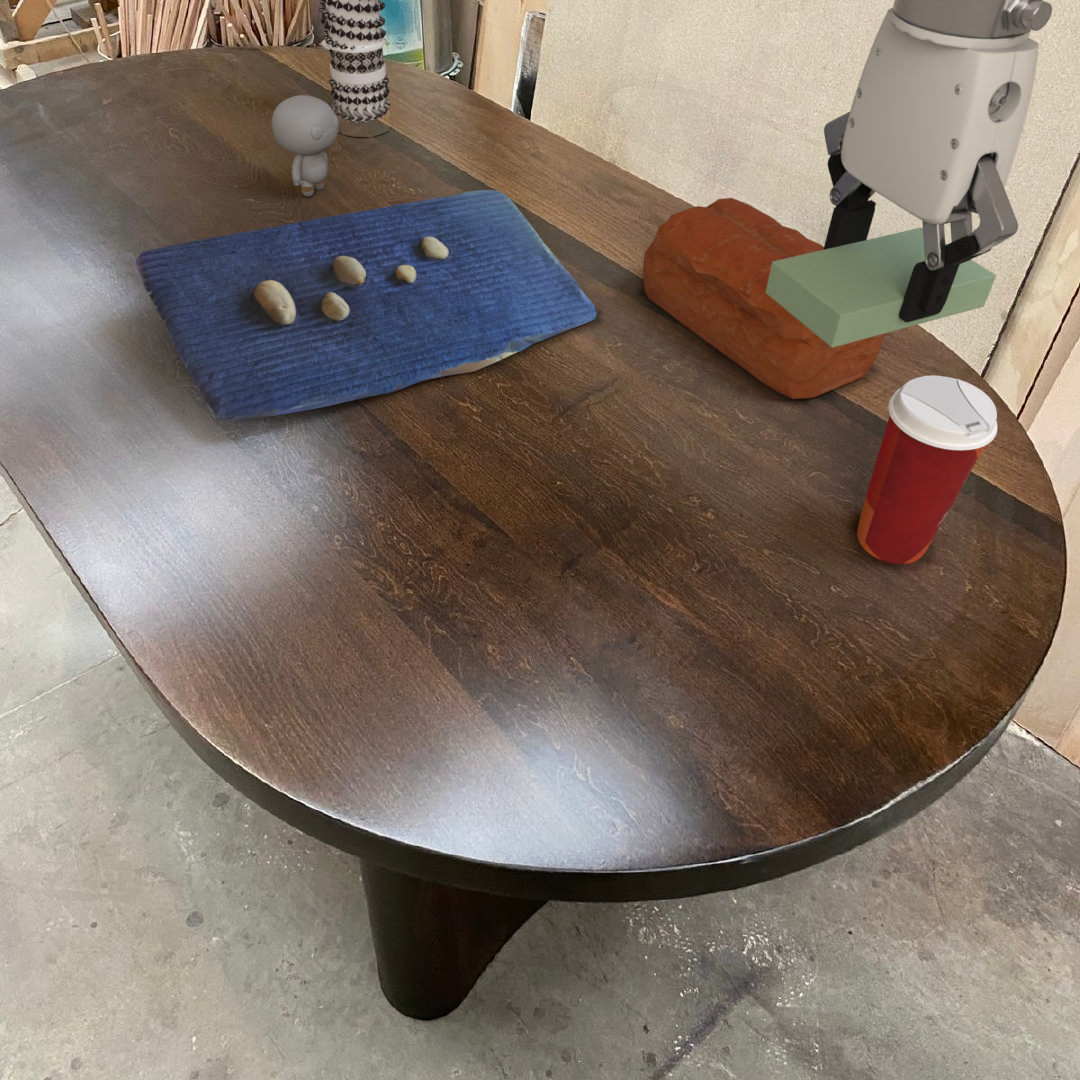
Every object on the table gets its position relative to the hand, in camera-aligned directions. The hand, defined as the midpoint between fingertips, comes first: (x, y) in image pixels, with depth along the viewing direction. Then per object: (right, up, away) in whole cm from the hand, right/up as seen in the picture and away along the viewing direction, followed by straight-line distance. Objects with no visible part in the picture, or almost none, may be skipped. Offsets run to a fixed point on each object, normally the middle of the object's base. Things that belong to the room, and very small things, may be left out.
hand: (878, 285), depth 65 cm
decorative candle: (-50, +44, +79) cm, 103 cm away
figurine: (-53, +29, +63) cm, 87 cm away
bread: (+1, +6, +43) cm, 43 cm away
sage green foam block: (0, -1, +1) cm, 1 cm away
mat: (-41, +7, +41) cm, 59 cm away
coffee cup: (+8, -17, +19) cm, 27 cm away
